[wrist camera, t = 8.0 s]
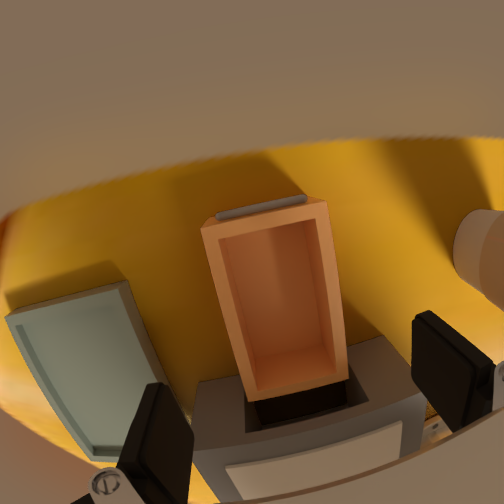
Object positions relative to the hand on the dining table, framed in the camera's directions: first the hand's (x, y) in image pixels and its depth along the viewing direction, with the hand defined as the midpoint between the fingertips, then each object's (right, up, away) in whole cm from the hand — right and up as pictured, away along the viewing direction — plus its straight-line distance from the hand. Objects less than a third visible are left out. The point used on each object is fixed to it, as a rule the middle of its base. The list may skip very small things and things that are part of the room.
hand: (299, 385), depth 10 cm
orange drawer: (0, +2, +13) cm, 13 cm away
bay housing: (+3, -8, +15) cm, 17 cm away
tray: (-15, -7, +14) cm, 22 cm away
